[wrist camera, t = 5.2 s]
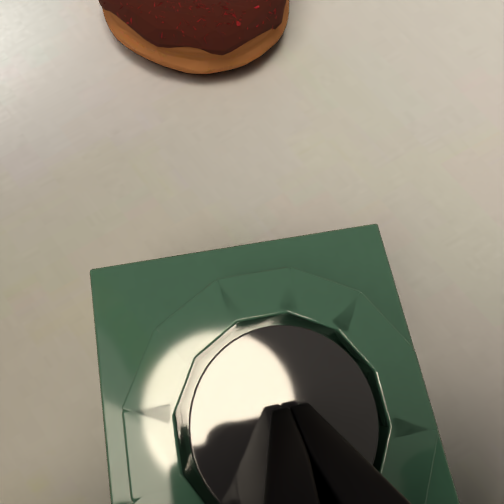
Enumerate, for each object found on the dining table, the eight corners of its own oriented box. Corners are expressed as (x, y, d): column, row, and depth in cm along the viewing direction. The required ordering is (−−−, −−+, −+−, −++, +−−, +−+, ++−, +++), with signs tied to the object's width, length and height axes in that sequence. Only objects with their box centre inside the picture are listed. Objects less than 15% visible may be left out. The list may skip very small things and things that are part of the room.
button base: (390, 514, 17) (534, 619, 9) (159, 574, 16) (108, 751, 8) (328, 271, 20) (401, 199, 12) (128, 306, 18) (68, 250, 11)
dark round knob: (374, 486, 11) (402, 504, 10) (206, 528, 11) (205, 555, 9) (333, 320, 12) (351, 310, 11) (180, 349, 12) (175, 343, 10)
